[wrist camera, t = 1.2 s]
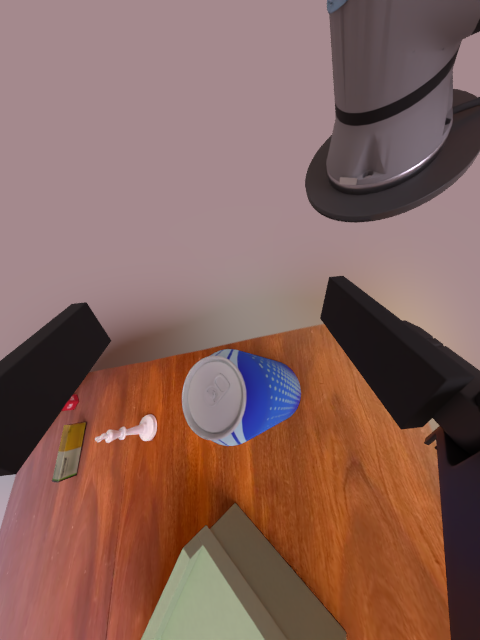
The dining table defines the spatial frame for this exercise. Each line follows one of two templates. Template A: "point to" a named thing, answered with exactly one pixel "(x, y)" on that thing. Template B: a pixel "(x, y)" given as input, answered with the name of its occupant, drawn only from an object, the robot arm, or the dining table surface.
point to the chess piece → (133, 430)
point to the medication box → (69, 451)
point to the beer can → (238, 396)
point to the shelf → (237, 591)
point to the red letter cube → (71, 403)
